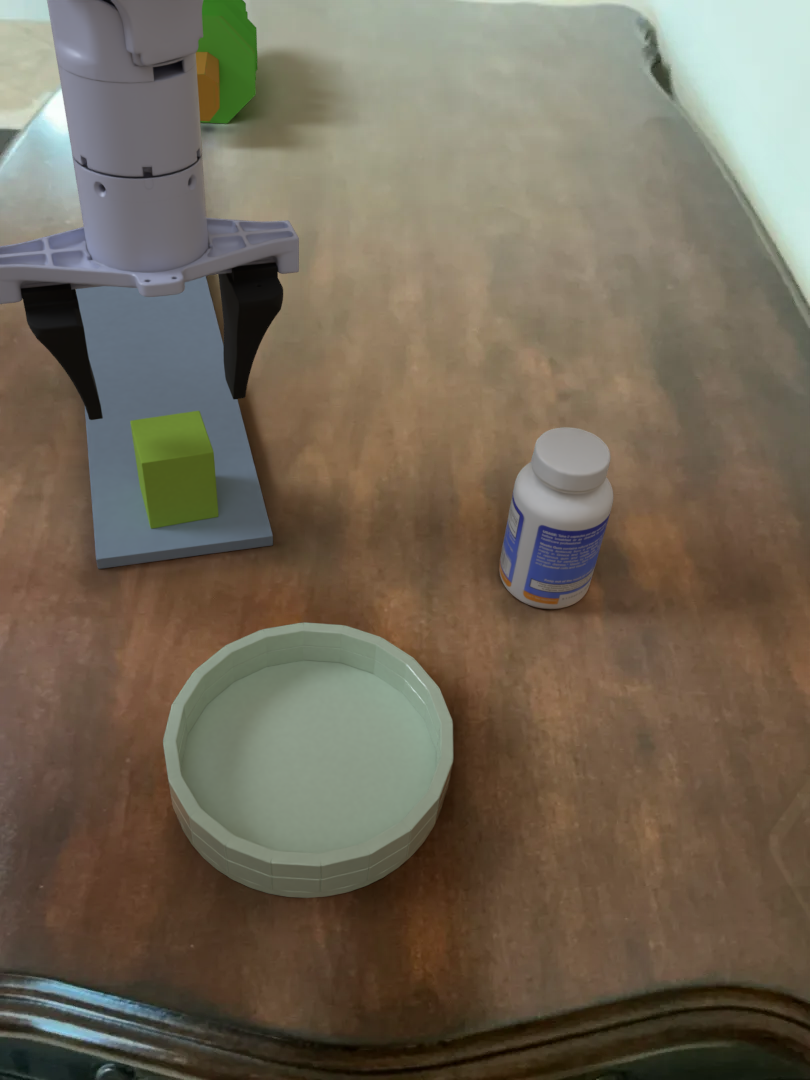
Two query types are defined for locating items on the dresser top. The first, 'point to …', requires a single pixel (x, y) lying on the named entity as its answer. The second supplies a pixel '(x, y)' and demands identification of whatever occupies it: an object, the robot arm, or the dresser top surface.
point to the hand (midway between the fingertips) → (166, 398)
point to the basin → (308, 759)
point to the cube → (175, 468)
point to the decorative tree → (225, 60)
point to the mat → (157, 390)
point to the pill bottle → (557, 519)
